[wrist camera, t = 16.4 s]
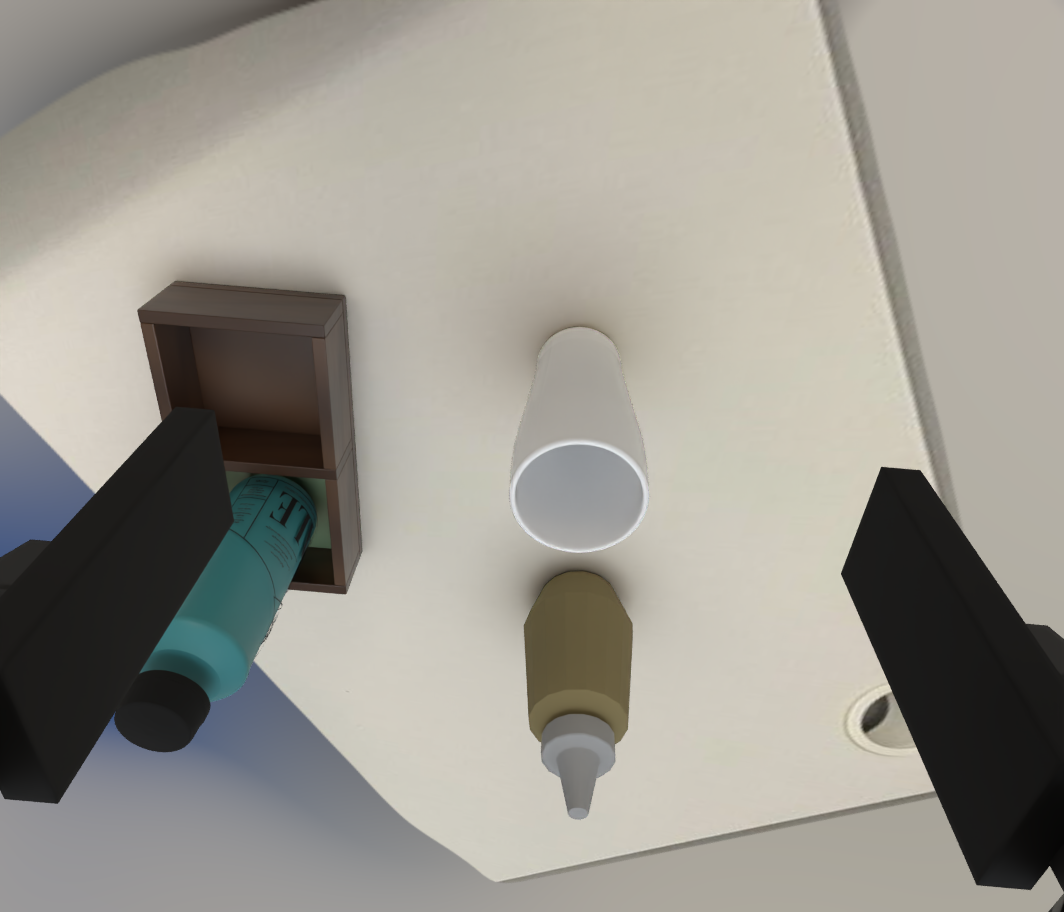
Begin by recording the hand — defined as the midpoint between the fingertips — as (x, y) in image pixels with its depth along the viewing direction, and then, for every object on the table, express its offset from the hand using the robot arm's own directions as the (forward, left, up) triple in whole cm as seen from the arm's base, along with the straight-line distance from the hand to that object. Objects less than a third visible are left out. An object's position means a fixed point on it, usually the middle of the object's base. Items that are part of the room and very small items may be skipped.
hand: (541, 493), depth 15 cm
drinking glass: (+12, +2, -32) cm, 34 cm away
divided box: (+19, -18, -32) cm, 41 cm away
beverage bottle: (+24, -18, -31) cm, 43 cm away
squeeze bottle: (+32, +4, -32) cm, 45 cm away
